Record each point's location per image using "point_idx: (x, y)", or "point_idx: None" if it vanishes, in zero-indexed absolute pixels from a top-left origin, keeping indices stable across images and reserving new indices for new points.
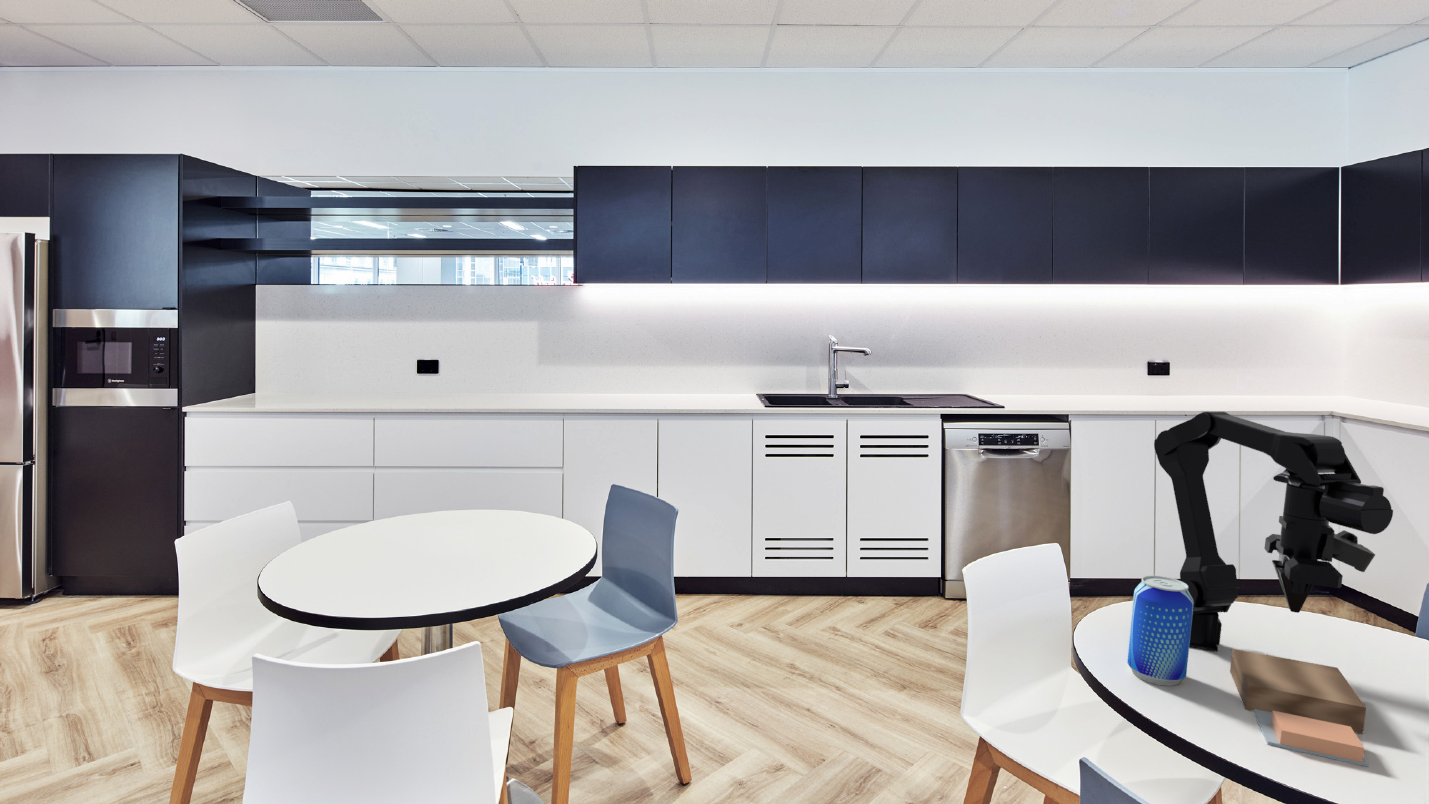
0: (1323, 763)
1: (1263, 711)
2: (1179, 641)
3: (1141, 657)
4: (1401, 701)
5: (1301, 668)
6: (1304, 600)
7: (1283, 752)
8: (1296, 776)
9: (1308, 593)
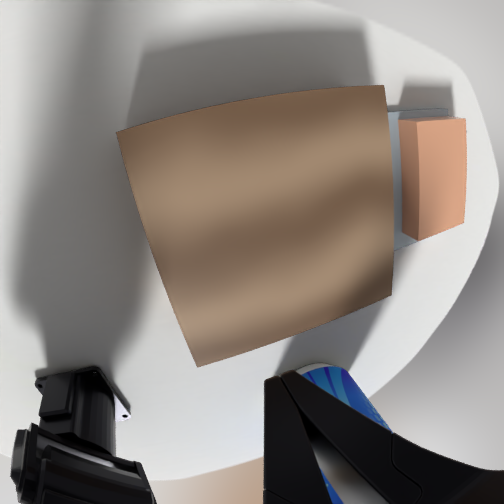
0: None
1: None
2: (381, 418)
3: None
4: (78, 5)
5: (213, 220)
6: (359, 414)
7: None
8: (485, 195)
9: (407, 442)
